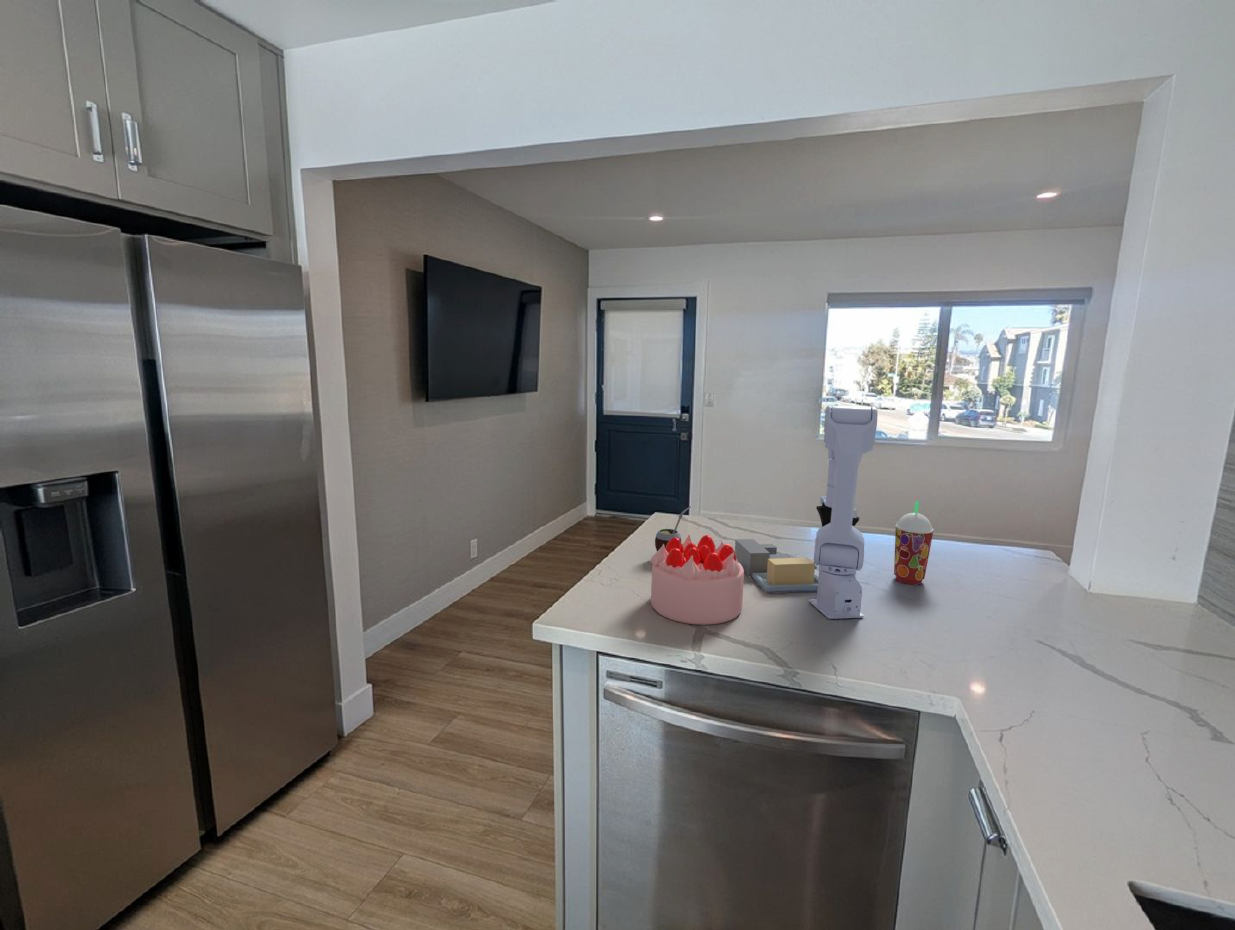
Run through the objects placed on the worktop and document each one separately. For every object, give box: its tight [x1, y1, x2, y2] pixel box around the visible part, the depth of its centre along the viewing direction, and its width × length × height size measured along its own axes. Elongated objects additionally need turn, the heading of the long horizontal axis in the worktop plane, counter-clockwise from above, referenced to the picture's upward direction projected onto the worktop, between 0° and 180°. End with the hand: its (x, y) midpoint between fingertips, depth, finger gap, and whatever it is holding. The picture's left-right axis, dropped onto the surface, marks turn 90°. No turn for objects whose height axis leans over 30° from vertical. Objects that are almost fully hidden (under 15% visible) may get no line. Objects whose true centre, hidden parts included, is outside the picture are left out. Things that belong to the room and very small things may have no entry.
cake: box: [649, 534, 745, 626], centre depth 126 cm, size 20×20×14 cm
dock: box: [734, 538, 791, 577], centre depth 151 cm, size 11×10×6 cm
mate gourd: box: [654, 506, 692, 552], centre depth 155 cm, size 8×8×15 cm
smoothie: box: [893, 501, 934, 586], centre depth 143 cm, size 8×8×20 cm
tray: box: [752, 573, 819, 594], centre depth 140 cm, size 9×15×2 cm, turn 98°
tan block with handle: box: [766, 557, 818, 585], centre depth 140 cm, size 4×11×6 cm, turn 98°
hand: (834, 538), depth 146 cm, fingers open, 7 cm apart
